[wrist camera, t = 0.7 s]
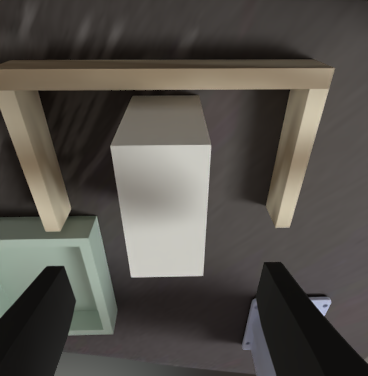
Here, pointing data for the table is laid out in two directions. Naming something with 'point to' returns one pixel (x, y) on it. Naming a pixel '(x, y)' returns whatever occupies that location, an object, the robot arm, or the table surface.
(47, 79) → the frame
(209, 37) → the table surface
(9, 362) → the robot arm
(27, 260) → the tray
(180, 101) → the tall grey box
